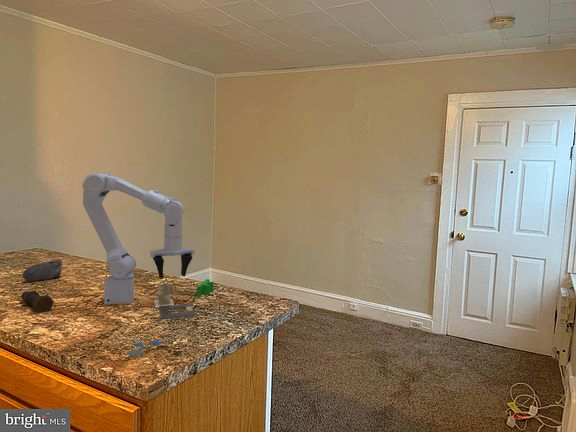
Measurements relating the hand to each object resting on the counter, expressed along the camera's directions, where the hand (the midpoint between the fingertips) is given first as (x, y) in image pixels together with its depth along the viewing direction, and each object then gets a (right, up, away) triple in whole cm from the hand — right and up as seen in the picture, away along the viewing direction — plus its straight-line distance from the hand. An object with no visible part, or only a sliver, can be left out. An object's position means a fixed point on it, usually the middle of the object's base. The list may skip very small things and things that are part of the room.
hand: (172, 276), depth 142 cm
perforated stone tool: (-57, -5, +24) cm, 62 cm away
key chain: (+1, -14, -33) cm, 35 cm away
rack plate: (+4, -11, -9) cm, 15 cm away
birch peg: (-2, -9, -1) cm, 9 cm away
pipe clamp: (+9, -9, +13) cm, 18 cm away
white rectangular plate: (-2, -10, -1) cm, 10 cm away
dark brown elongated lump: (-42, -9, -7) cm, 43 cm away
